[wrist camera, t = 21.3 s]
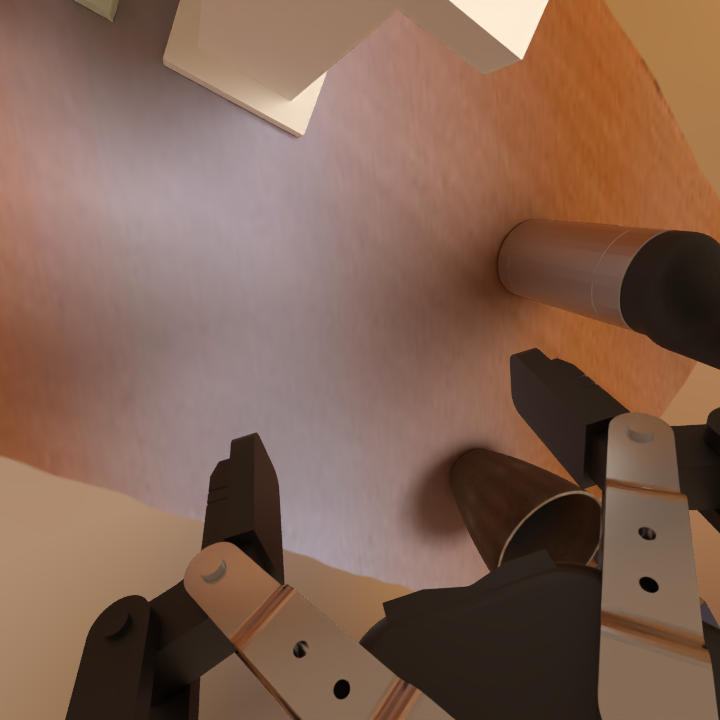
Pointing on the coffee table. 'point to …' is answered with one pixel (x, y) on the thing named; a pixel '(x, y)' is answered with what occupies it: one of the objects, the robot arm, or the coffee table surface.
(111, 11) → the short stand
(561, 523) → the plant pot
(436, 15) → the tall stand
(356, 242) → the coffee table surface
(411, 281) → the coffee table surface
